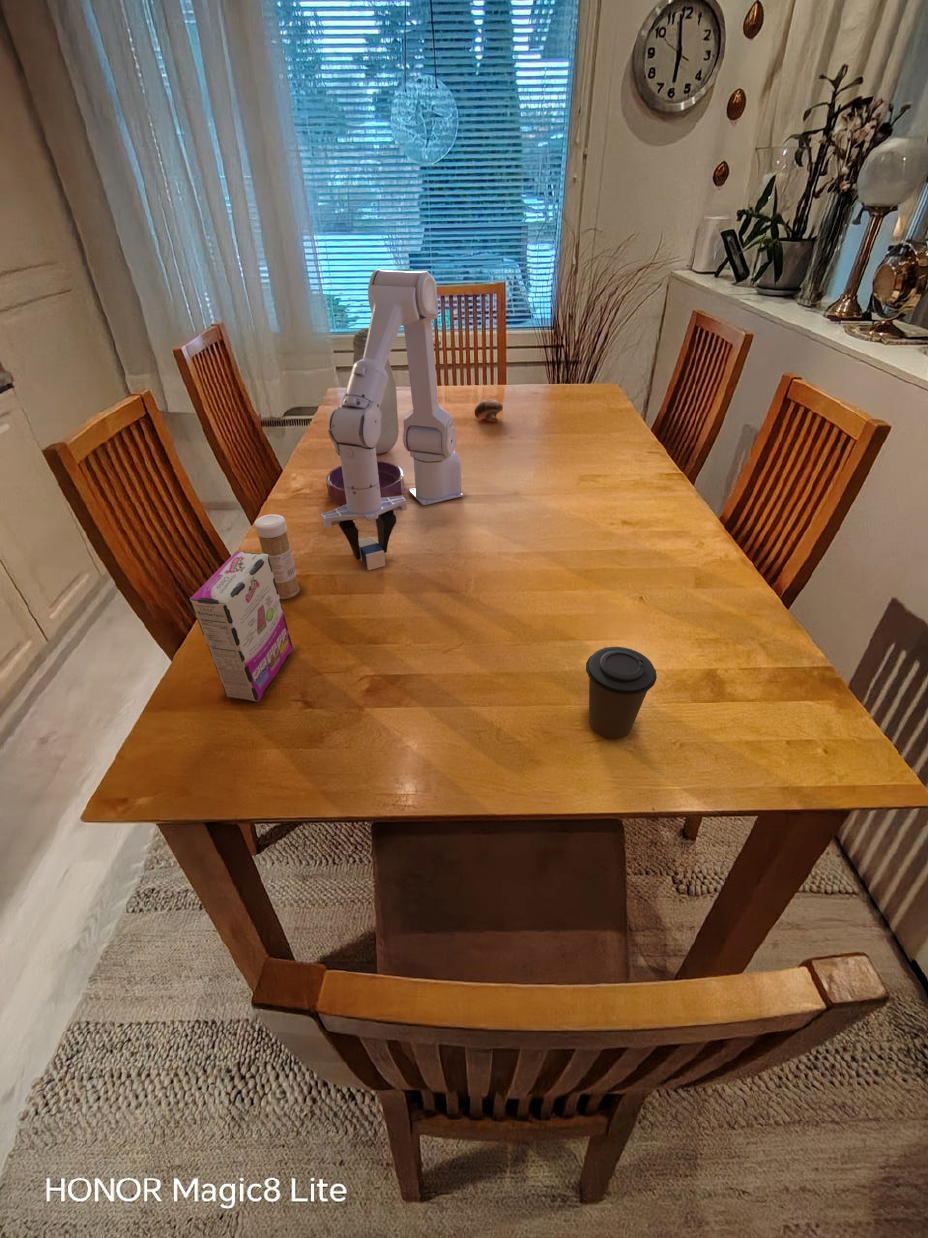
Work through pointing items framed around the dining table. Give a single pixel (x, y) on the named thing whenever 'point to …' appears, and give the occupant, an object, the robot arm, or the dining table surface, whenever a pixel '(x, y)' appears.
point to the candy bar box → (243, 624)
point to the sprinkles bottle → (278, 553)
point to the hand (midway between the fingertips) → (370, 553)
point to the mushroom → (488, 410)
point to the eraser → (371, 553)
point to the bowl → (388, 482)
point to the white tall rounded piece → (388, 403)
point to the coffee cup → (617, 689)
